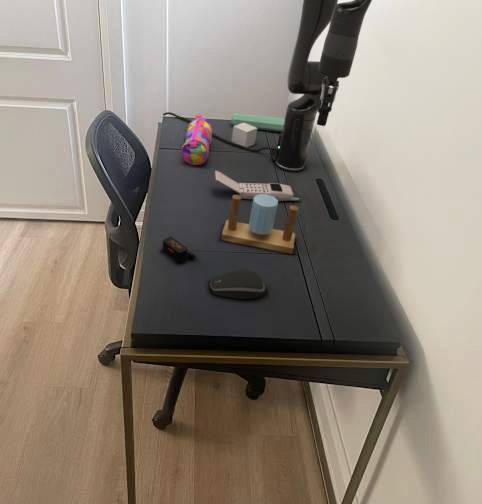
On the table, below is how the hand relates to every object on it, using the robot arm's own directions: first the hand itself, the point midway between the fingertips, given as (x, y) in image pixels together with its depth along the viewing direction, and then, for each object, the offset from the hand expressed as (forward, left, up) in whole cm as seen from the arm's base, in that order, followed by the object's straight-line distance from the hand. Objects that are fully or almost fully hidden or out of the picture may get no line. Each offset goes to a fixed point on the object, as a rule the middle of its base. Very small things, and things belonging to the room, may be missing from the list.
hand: (321, 118), depth 126 cm
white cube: (-43, +10, -27) cm, 52 cm away
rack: (+8, -21, -27) cm, 35 cm away
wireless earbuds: (+6, -43, -27) cm, 51 cm away
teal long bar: (-51, +25, -27) cm, 63 cm away
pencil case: (-42, -10, -27) cm, 50 cm away
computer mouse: (+22, -37, -27) cm, 51 cm away
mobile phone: (-11, -8, -27) cm, 30 cm away
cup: (+8, -21, -23) cm, 32 cm away
